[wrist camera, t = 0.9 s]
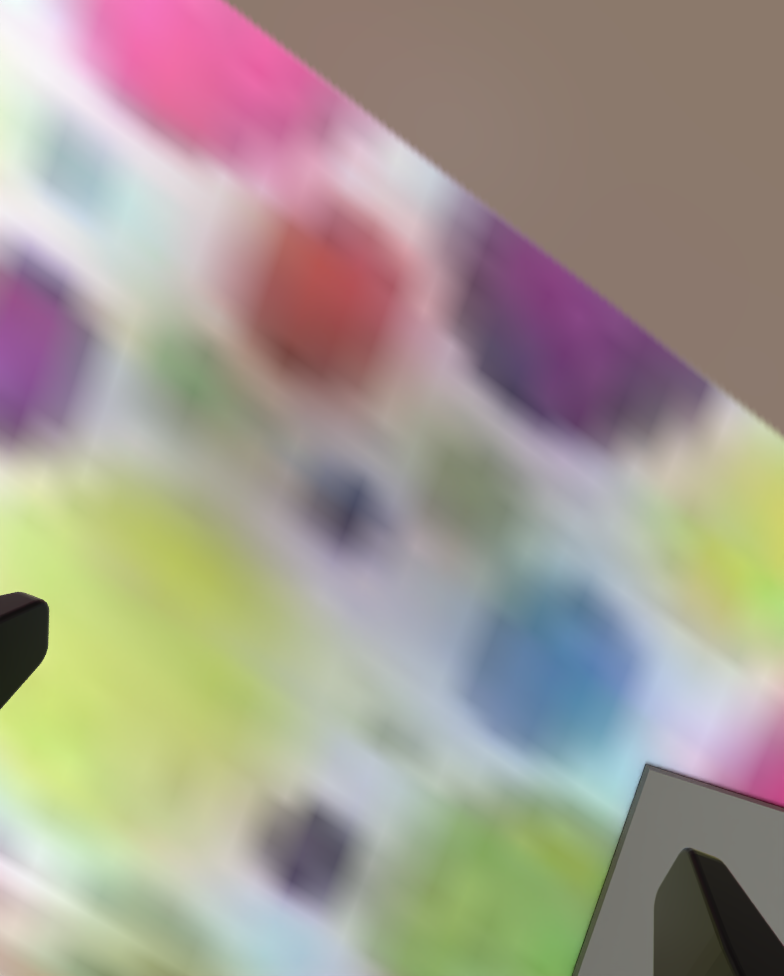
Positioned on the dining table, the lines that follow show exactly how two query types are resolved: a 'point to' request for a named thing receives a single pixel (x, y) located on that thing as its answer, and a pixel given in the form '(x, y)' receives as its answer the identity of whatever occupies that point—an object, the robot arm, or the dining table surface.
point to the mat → (653, 849)
